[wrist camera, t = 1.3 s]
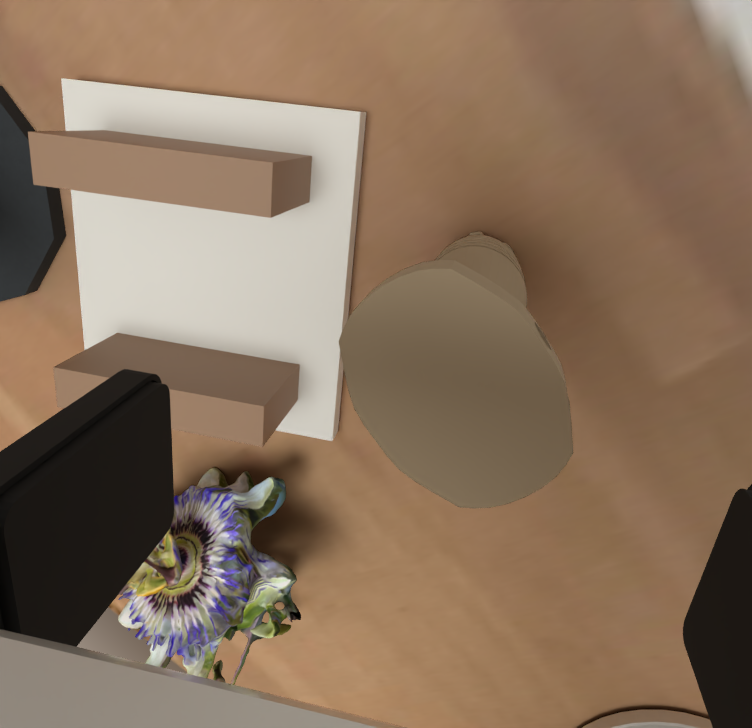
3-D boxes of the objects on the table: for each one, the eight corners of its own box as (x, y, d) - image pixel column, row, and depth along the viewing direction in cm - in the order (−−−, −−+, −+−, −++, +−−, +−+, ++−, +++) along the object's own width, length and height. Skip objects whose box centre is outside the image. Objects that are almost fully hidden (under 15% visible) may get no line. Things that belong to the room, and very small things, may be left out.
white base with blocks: (338, 430, 33) (303, 494, 28) (101, 386, 35) (23, 436, 30) (366, 112, 27) (329, 109, 21) (78, 80, 29) (-26, 70, 23)
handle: (472, 346, 30) (444, 534, 16) (398, 236, 29) (300, 339, 15) (562, 294, 28) (614, 455, 15) (487, 174, 27) (467, 228, 13)
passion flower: (253, 437, 41) (250, 433, 29) (347, 571, 41) (381, 620, 29) (101, 543, 39) (32, 584, 27) (201, 685, 38) (175, 789, 27)
